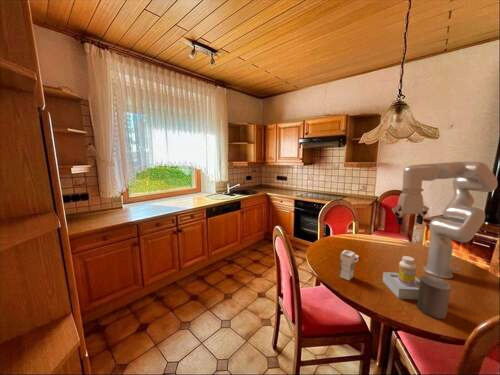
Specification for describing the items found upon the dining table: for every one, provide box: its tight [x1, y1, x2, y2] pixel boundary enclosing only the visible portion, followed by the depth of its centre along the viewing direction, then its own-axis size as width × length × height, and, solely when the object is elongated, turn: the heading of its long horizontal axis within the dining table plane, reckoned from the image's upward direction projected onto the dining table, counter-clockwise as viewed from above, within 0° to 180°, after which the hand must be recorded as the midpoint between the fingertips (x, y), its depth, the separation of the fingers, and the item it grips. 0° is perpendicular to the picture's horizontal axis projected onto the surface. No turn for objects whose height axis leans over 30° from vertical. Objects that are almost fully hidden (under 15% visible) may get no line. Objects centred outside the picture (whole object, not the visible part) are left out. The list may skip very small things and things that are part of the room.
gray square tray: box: [382, 271, 420, 301], centre depth 102 cm, size 14×14×5 cm
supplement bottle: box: [398, 255, 417, 286], centre depth 101 cm, size 7×7×13 cm
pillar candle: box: [416, 274, 451, 320], centre depth 88 cm, size 10×10×15 cm
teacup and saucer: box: [354, 254, 360, 263], centre depth 135 cm, size 9×8×4 cm
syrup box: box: [338, 249, 356, 281], centre depth 113 cm, size 6×6×14 cm
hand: (409, 223), depth 106 cm, fingers open, 9 cm apart
